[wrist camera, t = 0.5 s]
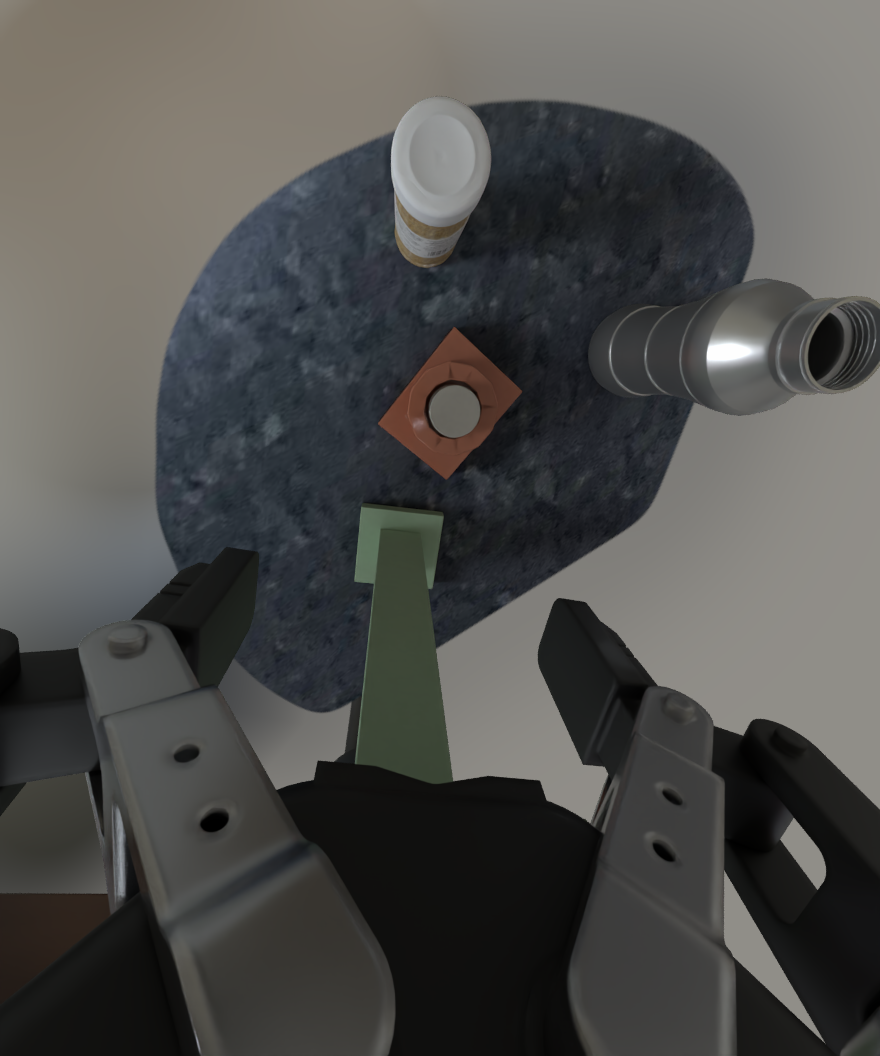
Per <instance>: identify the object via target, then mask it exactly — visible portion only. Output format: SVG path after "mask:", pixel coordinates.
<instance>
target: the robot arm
mask: <svg viewBox="0 0 880 1056" xmlns="http://www.w3.org/2000/svg"><path fill="white" fill-rule="evenodd" d="M258 565H259V554H258V552H255V551H249V550H242V549H236V548H230V547H226V548H225V549H224V550H223V551H222V552H221V553H220V554H219V555H218V556H217V557H216V559H215V560H214V561H213V562H212V563H211V564H206V563H197V564H195V565H193V566H190V567H188V568H186V569H183V570H181V571H180V572H179V573H178V574H177V575H176V576H175V577H174V578H173V579H172V580H171V581H170V583H169V584H167V585H166V586H165V587H164V588H163V589H162V590H161V591H160V593H158V594H157V595H156V596H155V597H154V598H153V599H152V600H151V601H150V602H149V603H148V604H146V605H145V606H144V607H143V608H142V609H141V610H140V611H139V612H138V613H137V614H136V615H135V616H134V617H133V618H132V619H131V620H126V621H119V622H115V623H111V624H108V625H105V626H102V627H100V628H97V629H96V630H94V631H92V632H90V633H89V634H88V635H86V636H85V637H84V638H83V639H82V641H81V642H80V644H79V647H78V648H74V649H67V650H56V651H40V652H25V653H20V652H19V643H18V638H17V637H16V635H15V634H13V633H12V632H10V631H8V630H5V629H1V628H0V816H1V815H2V813H3V812H4V811H5V810H6V808H7V807H8V806H9V805H10V803H11V802H12V801H13V799H14V798H15V797H16V796H17V794H18V793H19V792H20V791H21V789H22V788H23V787H24V785H25V784H26V783H27V782H30V781H36V780H42V779H48V778H54V777H60V776H66V775H72V774H78V773H84V772H86V779H87V783H88V788H89V793H90V798H91V802H92V807H93V812H94V817H95V822H96V826H97V831H98V836H99V841H100V845H101V850H102V855H103V861H104V867H105V875H106V884H107V892H108V899H109V906H110V912H111V916H109V917H108V918H107V919H106V920H104V921H103V922H102V923H101V924H99V925H98V926H97V927H96V928H94V929H93V930H92V931H91V932H89V933H88V934H87V935H86V936H85V937H83V938H82V939H81V940H80V941H78V942H77V943H76V944H75V945H73V946H72V947H71V948H70V949H68V950H67V951H66V952H65V953H64V954H62V955H61V956H60V957H59V958H57V959H56V960H55V961H54V962H52V963H51V964H50V965H49V966H47V967H46V968H45V969H44V970H43V971H41V972H40V973H39V974H38V975H36V976H35V977H34V978H33V979H31V980H30V981H29V982H28V983H26V984H25V985H24V986H23V987H22V988H20V989H19V990H18V991H17V992H15V993H14V994H13V995H12V996H10V997H9V998H8V999H7V1000H5V1001H4V1002H3V1003H2V1004H0V1056H880V809H878V807H877V806H876V805H874V804H873V803H872V802H871V801H870V800H869V799H868V798H867V797H866V796H865V795H864V794H863V793H862V792H861V791H860V790H859V789H858V788H857V787H856V786H855V785H854V784H853V783H852V782H851V781H850V780H849V779H848V778H847V777H846V776H845V775H844V774H843V773H842V772H841V771H840V770H839V769H838V768H837V767H836V766H835V765H834V764H833V763H832V762H831V761H830V760H829V759H828V758H827V757H826V756H825V755H824V754H823V753H822V752H821V751H820V750H819V749H818V748H817V747H816V746H815V745H813V744H812V743H811V742H810V741H809V740H807V739H806V738H804V737H803V736H802V735H800V734H798V733H797V732H795V731H793V730H792V729H790V728H788V727H786V726H784V725H781V724H779V723H776V722H773V721H769V720H765V719H755V720H753V721H752V722H751V723H750V725H749V726H748V728H747V730H746V732H745V734H744V736H742V735H739V734H736V733H733V732H730V731H728V730H724V729H722V728H718V727H715V726H714V725H713V720H712V718H711V717H710V715H709V714H708V712H706V710H705V709H704V708H703V707H702V706H701V705H699V704H698V703H697V702H696V701H694V700H693V699H691V698H689V697H688V696H686V695H684V694H682V693H680V692H678V691H676V690H673V689H670V688H667V687H661V686H658V685H657V684H656V683H655V682H654V680H653V679H652V678H651V677H650V675H649V674H648V673H647V671H646V670H645V669H644V668H643V666H642V665H641V664H640V663H639V661H638V660H637V659H636V658H634V655H633V654H632V652H631V651H630V650H629V649H628V648H626V645H625V643H624V642H623V641H622V640H621V638H620V637H619V636H618V635H617V633H615V632H614V631H613V630H611V629H610V628H609V627H608V626H606V625H605V624H604V623H602V622H601V621H600V620H599V619H598V618H597V616H596V615H595V614H594V612H593V611H592V610H591V608H590V607H589V606H588V605H587V603H585V602H582V601H574V600H569V599H562V598H558V599H557V600H556V601H555V602H554V604H553V606H552V609H551V612H550V615H549V618H548V621H547V624H546V627H545V630H544V633H543V636H542V639H541V642H540V645H539V649H538V664H539V668H540V670H541V673H542V675H543V677H544V679H545V681H546V684H547V685H548V688H549V690H550V692H551V695H552V697H553V699H554V701H555V704H556V706H557V708H558V710H559V712H560V715H561V717H562V719H563V721H564V723H565V726H566V728H567V730H568V732H569V735H570V737H571V739H572V741H573V743H574V745H575V748H576V750H577V752H578V754H579V756H580V759H581V761H582V763H583V765H593V766H603V767H605V768H606V770H607V772H608V777H607V779H606V781H605V783H604V786H603V789H602V792H601V794H600V797H599V800H598V803H597V806H596V809H595V812H594V815H593V817H592V820H591V823H589V822H587V821H586V820H584V819H582V818H581V817H579V816H578V815H576V814H574V813H573V812H571V811H569V810H567V809H566V808H563V807H561V806H559V805H556V804H554V803H552V802H549V801H547V800H546V798H545V794H544V791H543V789H542V785H541V782H540V781H538V780H526V779H516V778H504V777H494V776H486V777H479V778H473V779H466V780H460V781H453V782H447V783H441V784H432V783H428V782H425V781H422V780H418V779H415V778H412V777H409V776H406V775H403V774H400V773H396V772H393V771H390V770H387V769H384V768H381V767H378V766H372V765H361V764H350V763H339V762H328V761H318V762H317V767H316V772H315V777H314V780H312V781H306V782H301V783H297V784H293V785H289V786H286V787H284V788H281V789H278V790H276V789H275V787H274V785H273V784H272V782H271V780H270V778H269V777H268V775H267V773H266V771H265V769H264V768H263V766H262V764H261V762H260V760H259V759H258V757H257V755H256V753H255V752H254V750H253V748H252V746H251V745H250V743H249V741H248V739H247V738H246V736H245V734H244V732H243V730H242V728H241V727H240V725H239V723H238V721H237V720H236V718H235V716H234V714H233V713H232V711H231V709H230V707H229V706H228V704H227V702H226V700H225V698H224V696H223V695H222V693H221V691H220V690H219V688H218V685H219V684H220V682H221V680H222V678H223V676H224V674H225V673H226V671H227V669H228V667H229V665H230V663H231V662H232V660H233V658H234V656H235V654H236V653H237V651H238V649H239V647H240V645H241V643H242V642H243V640H244V638H245V636H246V634H247V632H248V630H249V628H250V625H251V622H252V619H253V614H254V609H255V599H256V588H257V577H258ZM793 818H795V819H796V821H797V822H798V823H799V824H800V825H801V827H802V828H803V829H804V830H805V832H806V833H807V834H808V835H809V837H810V838H811V839H812V840H813V841H814V843H815V844H816V845H817V847H818V848H819V850H820V851H821V853H822V855H823V858H824V861H825V865H826V877H825V880H824V882H823V884H822V885H821V886H820V888H819V889H818V890H817V889H816V888H815V886H814V885H813V883H812V882H811V881H810V879H809V878H808V877H807V875H806V874H805V873H804V872H803V870H802V869H801V867H800V866H799V865H798V863H797V862H796V860H795V859H794V858H793V856H792V855H791V854H790V852H789V851H788V850H787V848H786V847H785V846H784V844H783V843H782V842H781V840H780V838H781V837H782V835H783V834H784V832H785V830H786V829H787V827H788V826H789V824H790V823H791V821H792V820H793ZM724 870H725V872H726V874H727V876H728V877H729V879H730V881H731V882H732V884H733V886H734V888H735V889H736V891H737V893H738V894H739V896H740V898H741V900H742V901H743V903H744V905H745V906H746V908H747V910H748V912H749V913H750V915H751V917H752V918H753V920H754V922H755V923H756V925H757V927H758V929H759V930H760V932H761V934H762V935H763V937H764V939H765V941H766V942H767V944H768V945H769V947H770V949H771V951H772V953H773V954H774V956H775V958H776V959H777V961H778V963H779V965H780V966H781V968H782V970H783V971H784V973H785V975H786V977H787V978H788V980H789V982H790V983H791V985H792V987H793V989H794V990H795V992H796V994H797V995H798V997H799V999H800V1001H801V1002H802V1004H803V1006H804V1007H805V1009H806V1011H807V1013H808V1014H809V1016H810V1017H811V1019H812V1021H813V1023H814V1025H815V1026H816V1028H817V1030H818V1031H819V1033H820V1035H821V1036H822V1038H823V1040H824V1042H825V1043H826V1044H825V1043H824V1042H823V1041H822V1040H821V1039H820V1038H819V1037H817V1036H816V1035H815V1034H814V1033H813V1032H812V1031H811V1030H810V1029H809V1028H808V1027H807V1026H806V1025H805V1024H804V1023H802V1021H800V1019H798V1018H797V1017H796V1016H795V1015H794V1014H793V1013H792V1012H791V1011H790V1010H789V1009H788V1008H787V1007H786V1006H785V1005H783V1003H782V1002H780V1001H779V1000H778V999H777V998H776V997H775V996H774V995H773V994H772V993H771V992H770V991H769V990H768V989H767V988H765V986H764V985H762V984H761V983H760V982H759V981H758V980H757V979H756V978H755V977H754V976H753V975H752V974H751V973H750V972H749V971H748V970H747V969H746V968H744V967H743V966H742V965H741V964H740V963H739V962H738V961H737V960H736V959H735V958H734V957H733V956H732V953H731V951H730V950H729V949H728V948H727V947H726V945H725V941H724Z"/></svg>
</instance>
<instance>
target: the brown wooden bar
mask: <svg viewBox="0 0 880 1056" xmlns="http://www.w3.org/2000/svg"><path fill="white" fill-rule="evenodd" d="M109 916H111V912H110V906H109V899H108V894H32V893H27V894H26V893H24V894H22V893H14V894H13V893H6V894H5V893H0V1004H2V1003H3V1002H4V1001H5V1000H7V999H8V998H9V997H10V996H12V995H13V994H14V993H15V992H17V991H18V990H19V989H20V988H22V987H23V986H24V985H25V984H26V983H28V982H29V981H30V980H31V979H33V978H34V977H35V976H36V975H38V974H39V973H40V972H41V971H43V970H44V969H45V968H46V967H47V966H49V965H50V964H51V963H52V962H54V961H55V960H56V959H57V958H59V957H60V956H61V955H62V954H64V953H65V952H66V951H67V950H68V949H70V948H71V947H72V946H73V945H75V944H76V943H77V942H78V941H80V940H81V939H82V938H83V937H85V936H86V935H87V934H88V933H89V932H91V931H92V930H93V929H94V928H96V927H97V926H98V925H99V924H101V923H102V922H103V921H104V920H106V919H107V918H108V917H109Z"/></svg>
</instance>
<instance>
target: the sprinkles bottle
mask: <svg viewBox="0 0 880 1056" xmlns="http://www.w3.org/2000/svg"><path fill="white" fill-rule="evenodd" d="M490 167H491V151H490V145H489V140H488V137H487V133H486V131H485V129H484V127H483V124H482V123H481V121H480V119H479V118H478V116H477V115H476V114H475V113H474V112H473V111H472V110H471V109H470V108H469V107H468V106H466V105H465V104H464V103H462V102H460V101H458V100H456V99H453V98H450V97H444V96H435V97H430V98H427V99H424V100H422V101H420V102H419V103H417V104H415V105H414V106H413V107H411V108H410V109H409V110H408V112H407V113H406V114H405V115H404V116H403V118H402V119H401V121H400V123H399V125H398V127H397V129H396V132H395V135H394V138H393V143H392V151H391V174H392V181H393V185H394V189H395V238H396V242H397V245H398V248H399V250H400V252H401V253H402V254H403V256H404V257H405V258H406V259H407V260H408V261H410V262H411V263H412V264H414V265H416V266H419V267H423V268H430V267H435V266H437V265H439V264H442V263H443V262H444V261H445V260H446V259H447V258H448V257H449V256H450V255H451V253H452V252H453V249H454V247H455V245H456V242H457V241H458V239H459V237H460V235H461V233H462V231H463V229H464V227H465V225H466V223H467V221H468V219H469V216H470V214H471V212H472V211H473V210H474V208H475V207H476V206H477V204H478V202H479V200H480V198H481V196H482V194H483V192H484V190H485V187H486V184H487V181H488V178H489V173H490Z"/></svg>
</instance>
